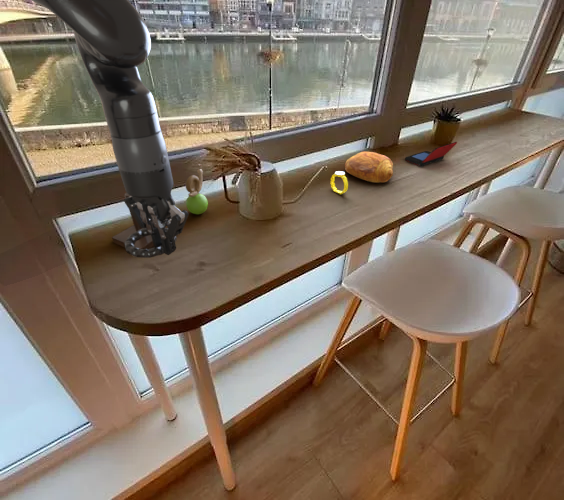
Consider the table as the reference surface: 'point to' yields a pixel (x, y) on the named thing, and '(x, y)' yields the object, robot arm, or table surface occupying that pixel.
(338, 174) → the gold gemstone ring
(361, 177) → the bread loaf
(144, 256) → the hang ring
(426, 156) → the handheld console
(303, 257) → the table surface
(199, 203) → the snail figurine
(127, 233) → the stand
